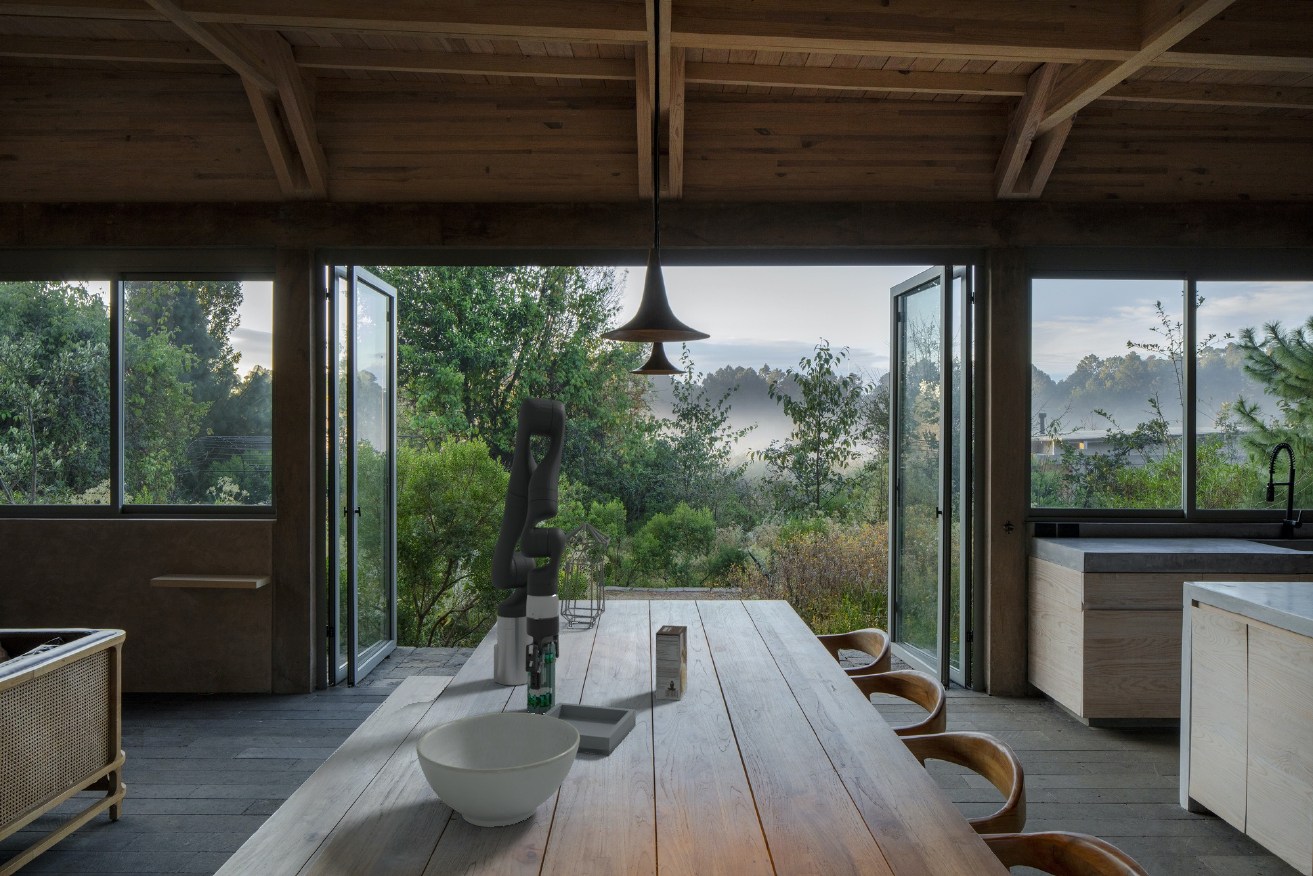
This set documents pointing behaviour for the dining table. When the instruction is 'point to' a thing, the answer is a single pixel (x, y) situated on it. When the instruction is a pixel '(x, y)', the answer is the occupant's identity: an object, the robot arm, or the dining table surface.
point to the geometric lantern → (568, 537)
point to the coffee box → (671, 662)
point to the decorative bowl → (498, 764)
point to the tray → (596, 725)
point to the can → (543, 685)
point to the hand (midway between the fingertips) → (542, 684)
